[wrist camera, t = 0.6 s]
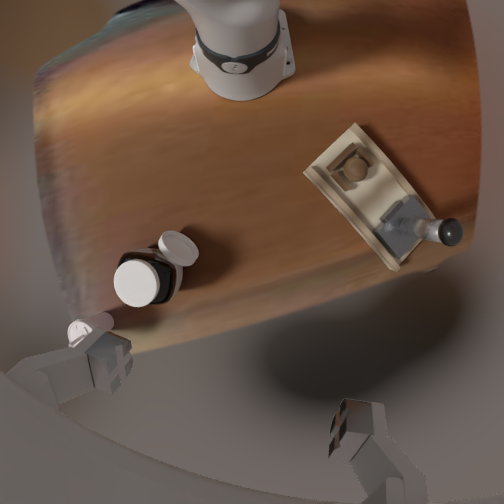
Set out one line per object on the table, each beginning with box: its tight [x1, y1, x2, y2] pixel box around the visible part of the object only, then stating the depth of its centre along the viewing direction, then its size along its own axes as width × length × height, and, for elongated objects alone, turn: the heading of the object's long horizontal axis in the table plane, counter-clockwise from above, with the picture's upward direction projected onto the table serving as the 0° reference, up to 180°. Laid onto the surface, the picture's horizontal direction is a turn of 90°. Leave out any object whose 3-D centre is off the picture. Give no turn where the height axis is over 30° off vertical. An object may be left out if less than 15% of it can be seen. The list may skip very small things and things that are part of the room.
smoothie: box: [68, 312, 114, 348], centre depth 49 cm, size 6×6×14 cm
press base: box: [303, 123, 436, 272], centre depth 50 cm, size 23×12×4 cm, turn 45°
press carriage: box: [372, 195, 464, 259], centre depth 41 cm, size 7×9×18 cm
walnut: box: [344, 157, 368, 182], centre depth 48 cm, size 4×4×4 cm
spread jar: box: [114, 231, 199, 307], centre depth 48 cm, size 12×11×12 cm
